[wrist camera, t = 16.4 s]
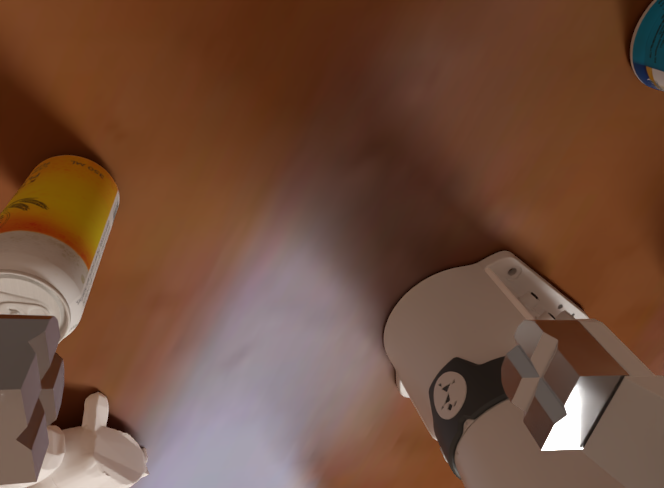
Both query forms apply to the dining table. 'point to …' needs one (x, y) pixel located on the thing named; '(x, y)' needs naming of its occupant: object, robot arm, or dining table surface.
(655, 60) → the beverage bottle
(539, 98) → the dining table surface
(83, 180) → the beer can
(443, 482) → the dining table surface
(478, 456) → the robot arm
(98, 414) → the white low-poly figurine
